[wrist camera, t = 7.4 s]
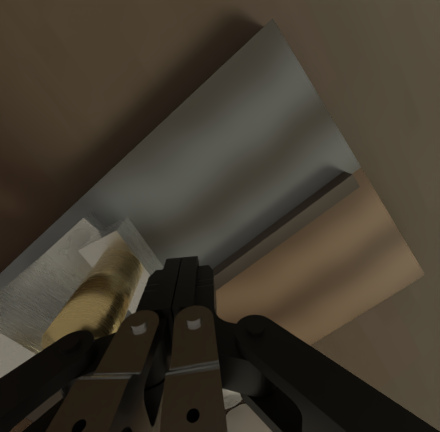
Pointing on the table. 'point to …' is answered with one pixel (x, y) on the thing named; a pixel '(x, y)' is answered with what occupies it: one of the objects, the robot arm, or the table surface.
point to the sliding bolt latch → (254, 200)
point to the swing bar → (111, 287)
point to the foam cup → (244, 420)
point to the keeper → (42, 294)
